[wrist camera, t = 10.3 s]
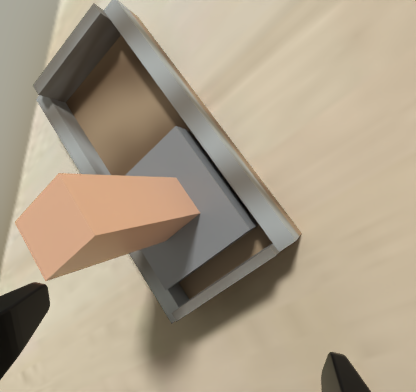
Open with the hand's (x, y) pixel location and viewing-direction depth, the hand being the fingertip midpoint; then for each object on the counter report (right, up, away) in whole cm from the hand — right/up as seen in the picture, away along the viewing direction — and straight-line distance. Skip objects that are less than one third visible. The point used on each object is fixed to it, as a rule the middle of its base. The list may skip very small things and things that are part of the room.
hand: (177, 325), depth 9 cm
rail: (-3, +7, +15) cm, 16 cm away
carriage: (-1, +3, +12) cm, 13 cm away
